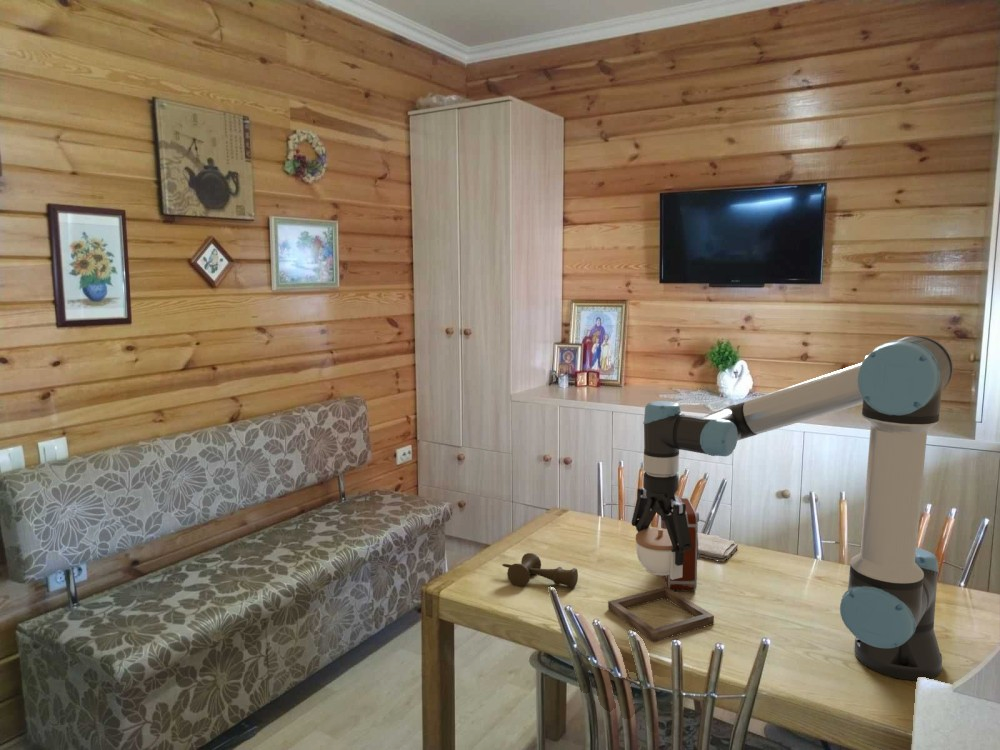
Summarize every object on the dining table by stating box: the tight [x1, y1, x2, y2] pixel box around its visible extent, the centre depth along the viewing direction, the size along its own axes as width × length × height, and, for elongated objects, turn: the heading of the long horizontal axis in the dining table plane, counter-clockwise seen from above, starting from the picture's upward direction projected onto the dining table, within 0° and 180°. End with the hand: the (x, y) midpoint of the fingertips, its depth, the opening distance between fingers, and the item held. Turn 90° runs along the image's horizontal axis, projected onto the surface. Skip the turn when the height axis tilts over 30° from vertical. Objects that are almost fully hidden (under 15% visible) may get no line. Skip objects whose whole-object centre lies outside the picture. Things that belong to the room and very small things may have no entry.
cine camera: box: [660, 494, 700, 592], centre depth 181 cm, size 9×19×20 cm, turn 174°
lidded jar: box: [635, 527, 678, 577], centre depth 160 cm, size 11×11×9 cm
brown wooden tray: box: [607, 585, 715, 643], centre depth 162 cm, size 16×16×2 cm
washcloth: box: [698, 532, 739, 563], centre depth 199 cm, size 12×18×3 cm, turn 56°
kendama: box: [502, 552, 579, 590], centre depth 181 cm, size 6×10×20 cm
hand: (659, 568), depth 160 cm, fingers closed on lidded jar, 11 cm apart
